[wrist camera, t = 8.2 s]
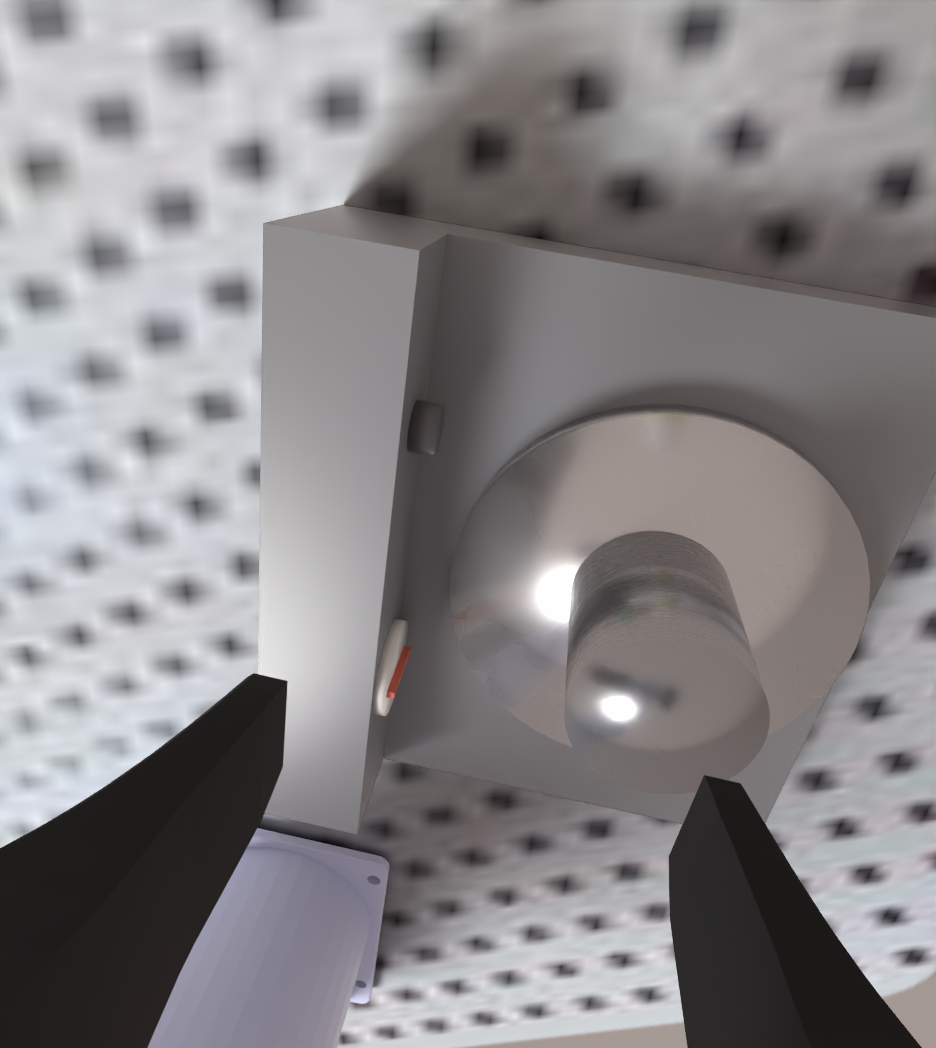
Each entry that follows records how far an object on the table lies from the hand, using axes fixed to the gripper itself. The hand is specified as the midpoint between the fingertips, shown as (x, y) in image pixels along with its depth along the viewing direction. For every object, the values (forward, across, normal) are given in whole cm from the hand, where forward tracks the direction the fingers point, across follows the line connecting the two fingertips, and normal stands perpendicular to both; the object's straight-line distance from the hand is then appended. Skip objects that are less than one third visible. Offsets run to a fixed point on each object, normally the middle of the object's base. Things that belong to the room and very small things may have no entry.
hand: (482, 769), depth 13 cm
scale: (+10, -2, 0) cm, 10 cm away
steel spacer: (+7, -4, 0) cm, 8 cm away
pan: (+8, -3, +1) cm, 9 cm away
